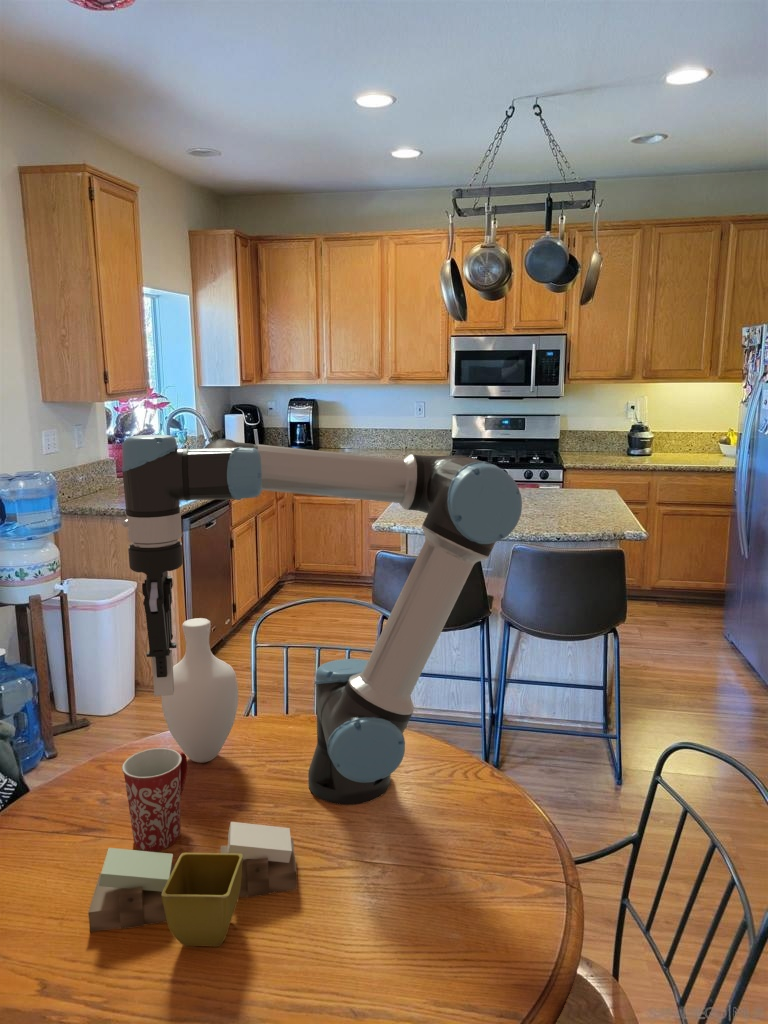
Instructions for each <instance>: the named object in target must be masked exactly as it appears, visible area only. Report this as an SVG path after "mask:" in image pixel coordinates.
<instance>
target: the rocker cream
mask: <svg viewBox="0 0 768 1024" xmlns="http://www.w3.org/2000/svg"><path fill="white" fill-rule="evenodd" d="M290 829H291V828H290V827H283V826H272V825H267V824H266V825H264V824H256V823H245V822H238V821H237V822H236V821H230V824H229V829H228V833H227V835H228V836H227V845H228V853H239V854H242V855H243V858H245V859H262V858H268V861H276V862H286V863H289V861H290V857H291V852H292V848H291V838H292V837H291V830H290Z"/></svg>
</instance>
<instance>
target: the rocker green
mask: <svg viewBox="0 0 768 1024" xmlns="http://www.w3.org/2000/svg"><path fill="white" fill-rule="evenodd" d="M107 849H108V850H107V852H106V856H105V858H104V862H103V865H102V869H101V872H100V873H101V876H100V881H99V886H102V887H114V888H126V889H131V888H139V887H143V890H149V891H160V892H163V889H164V887H165V885H166V883H167V881H168V879H169V877H170V870H171V865H172V862H173V856H174V854H173V853H170V852H169V853H167V852H158V851H143V850H136V849H126V848H116V847H108V848H107Z"/></svg>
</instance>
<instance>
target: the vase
mask: <svg viewBox="0 0 768 1024" xmlns="http://www.w3.org/2000/svg"><path fill="white" fill-rule="evenodd" d="M211 627H212V625H211V620H209V619H207V618H203V617H199V618H196V617H195V618H191V619H187V620H184V622H183V623H182V631H183V635H184V639H185V640H184V641H185V653H184V655H183V657H182V658H181V660H180V661H178V663H176V664H174V665H173V676H174V693H173V695H168V696H161V709H162V712H163V717H164V719H165V723H166V725H167V728H168V731H169V733H170V734H171V736H172V738H173V740H174V741H175V742H176V743H177V744H178V746H179V747H180V749H181V750H182V752H183V753H184V754H185V755H186V757H187V758H189V760H190V761H192V762H195V763H207V762H210V761H212V760H214V759H215V758H217V756H218V755H219V754H220V752H221V751H222V748H223V746H225V743H226V741H227V739H228V737H229V735H230V733H231V730H232V729H233V727H234V726H233V725H234V723H235V720H236V715H237V713H238V712H237V710H238V704H239V685H238V679H237V675H236V672H235V670H234V669H233V667H232V665H230V664H229V663H227V662H225V661H224V660H222V659H219V658H218V657H216V656H215V655H214V654H213V652H212V650H211V647H210V634H211Z"/></svg>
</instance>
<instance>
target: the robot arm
mask: <svg viewBox="0 0 768 1024" xmlns="http://www.w3.org/2000/svg"><path fill="white" fill-rule="evenodd" d="M121 449H122V468H121V472H122V480H123V481H122V482H123V493H124V502H125V504H124V506H125V514H126V519H125V520H122V521H123V522H122V526H123V527H124V528H128V529H127V540H128V541H129V542H130V544H129V546H128V547H127V549H128V551H127V553H128V564H129V569H130V570H131V571H133V572H135V573H138V574H139V573H143V574H144V575H146V578H144V582H142V585H141V589H142V595H143V597H144V599H143V601H142V602H143V604H142V605H143V606H144V608H143V609H144V612H145V619H146V629H147V630H146V631H147V636H148V637H147V638H148V639H147V640H148V648H149V649H148V651H147V652H146V657H147V658H151V662H152V678H153V694H154V695H153V696H154V697H162V696H168V695H173V693H174V676H173V666H174V665H173V664H174V663H173V649H177V642H172V640H173V638H174V635H173V622H172V619H173V616H172V604H173V593H172V588H173V586H174V583H173V582H174V581H173V577H172V576H169V573H168V572H172V571H175V570H177V569H179V568H181V567H182V565H183V563H184V557H183V543H182V542H181V541H180V539H181V538H182V536H183V534H182V532H183V531H182V517H181V516H182V514H181V513H182V512H181V509H180V508H181V506H180V502H181V501H186V502H187V501H202V500H203V501H206V500H208V501H209V500H236V501H240V500H242V499H252V498H253V499H254V498H258V497H259V496H260V495H261V494H262V491H267V492H268V491H269V492H279V493H287V494H288V493H289V494H291V493H292V494H298V495H299V494H300V495H310V496H311V495H312V496H320V497H330V498H331V497H332V498H342V499H353V500H364V501H375V502H382V503H383V502H384V503H395V504H399V505H400V506H401V507H402V508H403V510H407V511H408V510H409V511H418V512H422V513H426V517H425V519H424V521H423V523H422V525H421V530H422V532H423V534H424V538H425V539H424V540H425V541H424V543H423V545H422V547H421V548H420V551H419V553H418V555H417V557H416V560H415V562H414V563H413V566H412V567H411V570H410V572H409V574H408V577H407V579H406V581H405V583H404V585H403V586H402V588H401V591H400V594H399V595H398V598H397V599H396V601H395V604H394V606H393V607H392V610H391V612H390V614H389V616H388V619H387V620H386V622H385V624H384V626H383V628H382V631H381V633H380V635H379V637H378V639H377V641H376V644H375V645H374V647H373V650H372V652H371V654H370V656H369V658H368V660H367V659H364V658H343V659H334V660H330V661H326V662H324V663H323V664H321V665H319V667H318V668H317V670H316V672H315V680H314V684H315V690H316V691H315V692H316V693H315V696H316V697H315V698H316V700H315V701H316V734H317V736H316V737H317V738H316V747H315V750H314V753H313V757H312V758H311V762H310V765H309V768H308V775H307V776H308V777H307V779H308V788H309V790H310V792H311V793H312V794H313V795H314V796H315V797H316V798H318V799H320V800H321V801H324V802H327V803H330V804H334V805H335V804H336V805H341V806H342V805H344V806H345V805H346V806H350V805H351V806H353V805H359V804H365V803H368V802H372V801H374V800H376V799H378V798H380V797H382V796H383V795H385V793H386V792H387V791H388V790H389V788H390V786H391V783H392V781H391V775H392V774H393V773H394V772H395V771H396V770H397V769H398V768H399V766H400V765H401V764H402V761H403V759H404V756H405V751H406V740H405V737H404V732H405V730H406V727H407V725H408V724H409V721H410V720H411V718H412V715H413V713H414V710H415V706H414V703H413V700H412V697H411V695H412V693H413V691H414V689H415V687H416V686H417V683H418V681H419V680H420V679H419V678H420V676H421V675H422V673H423V670H424V669H425V666H426V664H427V662H428V660H429V658H430V656H431V654H432V653H433V650H434V647H435V645H436V643H437V642H438V639H439V638H440V636H441V633H442V632H443V629H444V627H445V625H446V623H447V621H448V619H449V616H450V615H451V612H452V610H453V609H454V607H455V604H456V603H457V600H458V599H459V596H460V594H461V593H462V590H463V588H464V586H465V584H466V582H467V579H468V577H469V575H470V574H471V572H472V570H473V567H474V565H475V564H477V563H478V562H481V561H483V560H487V559H489V556H490V555H491V552H492V551H493V549H494V547H495V545H496V543H497V542H499V541H501V540H502V539H505V538H507V537H509V535H510V534H511V533H512V532H513V531H514V530H515V528H517V527H516V526H517V525H518V523H519V520H520V518H521V514H522V510H523V509H522V508H523V500H522V494H521V491H520V489H519V486H518V484H517V482H516V481H515V479H514V478H513V477H512V476H511V475H510V474H509V473H508V472H507V471H505V470H504V469H502V468H501V467H499V466H498V465H496V464H492V463H489V462H488V461H482V460H479V459H476V458H474V457H470V456H466V455H425V454H424V455H422V454H411V453H410V454H408V455H407V456H406V457H405V458H394V457H381V456H373V455H372V456H371V455H365V454H354V453H353V454H352V453H346V452H345V453H344V452H335V451H328V450H327V451H326V450H317V449H315V450H314V449H306V448H296V447H287V446H278V445H277V446H276V445H267V444H260V443H259V444H253V443H248V442H247V443H246V442H239V441H235V440H232V439H226V438H218V439H216V440H212V441H210V442H209V443H207V444H206V445H205V446H204V447H203V448H191V449H189V448H181V447H179V446H178V444H177V440H176V437H175V436H173V435H170V434H169V435H167V434H143V435H142V434H141V435H134V436H133V435H132V436H129V437H127V438H125V440H123V442H122V448H121Z"/></svg>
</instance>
